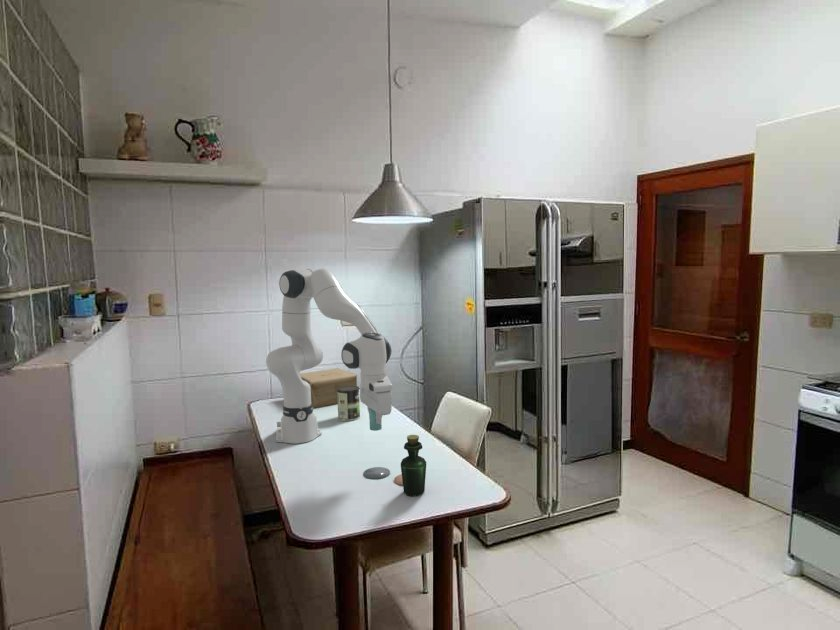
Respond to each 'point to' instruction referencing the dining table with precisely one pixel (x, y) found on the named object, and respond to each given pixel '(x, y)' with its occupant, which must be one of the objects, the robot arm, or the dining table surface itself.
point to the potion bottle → (413, 468)
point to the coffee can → (348, 403)
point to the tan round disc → (398, 480)
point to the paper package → (327, 385)
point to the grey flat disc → (376, 472)
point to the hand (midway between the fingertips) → (375, 421)
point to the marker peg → (373, 421)
